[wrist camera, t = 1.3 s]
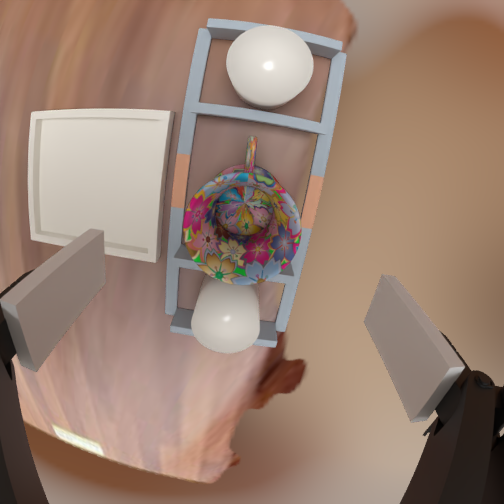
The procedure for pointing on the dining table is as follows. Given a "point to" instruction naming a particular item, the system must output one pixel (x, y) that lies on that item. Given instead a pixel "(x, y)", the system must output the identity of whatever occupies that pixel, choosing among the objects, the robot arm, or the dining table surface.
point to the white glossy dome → (269, 66)
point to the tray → (100, 177)
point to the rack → (324, 129)
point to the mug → (242, 224)
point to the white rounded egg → (226, 316)
